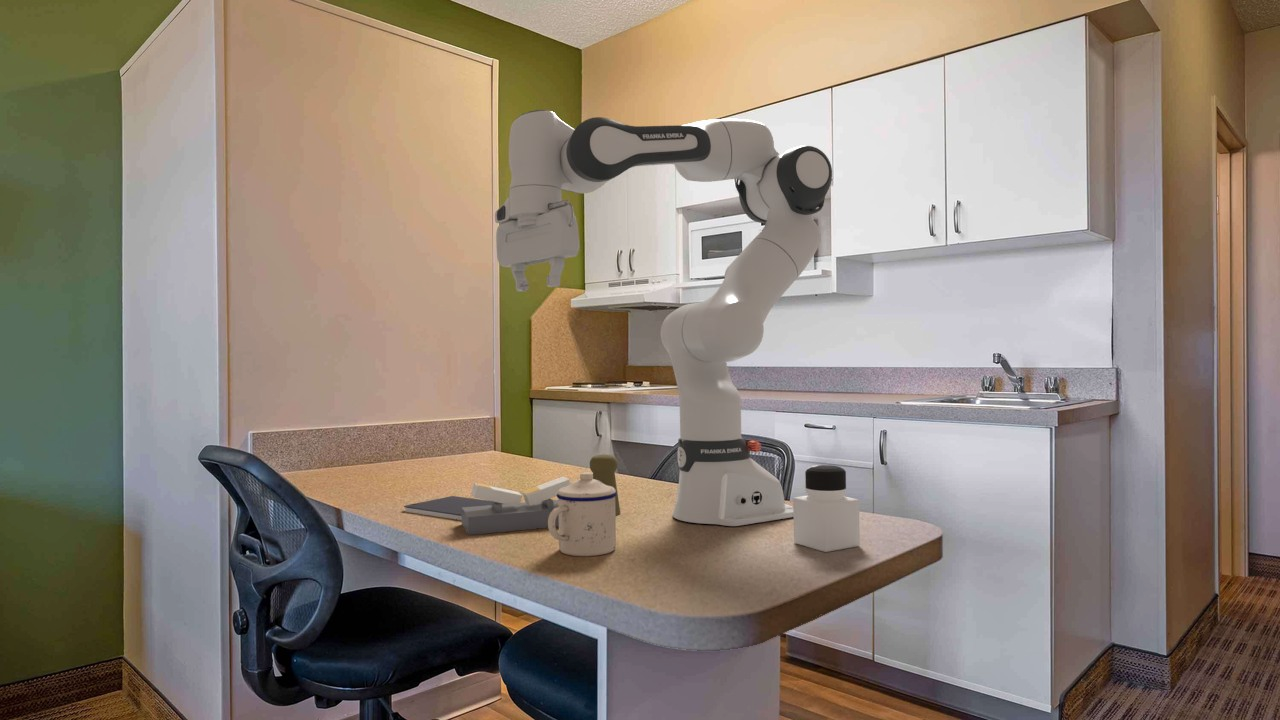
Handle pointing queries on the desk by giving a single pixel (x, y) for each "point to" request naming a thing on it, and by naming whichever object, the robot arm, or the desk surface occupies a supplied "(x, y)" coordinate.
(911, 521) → the desk surface
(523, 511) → the power strip
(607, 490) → the teacup with lid
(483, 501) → the notebook
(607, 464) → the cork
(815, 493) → the medicine bottle
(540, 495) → the rocker
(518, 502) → the rocker
